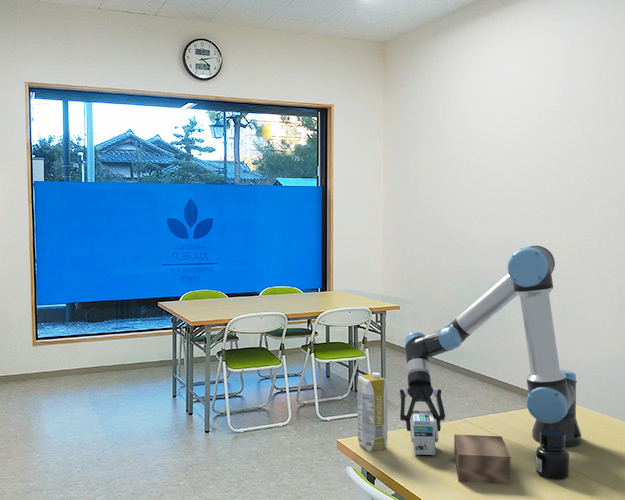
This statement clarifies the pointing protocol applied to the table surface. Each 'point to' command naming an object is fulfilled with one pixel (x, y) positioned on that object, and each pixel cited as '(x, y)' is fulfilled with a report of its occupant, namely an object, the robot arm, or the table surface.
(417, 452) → the light bulb box
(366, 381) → the juice carton
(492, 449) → the walnut block
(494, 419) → the table surface
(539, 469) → the ink bottle
